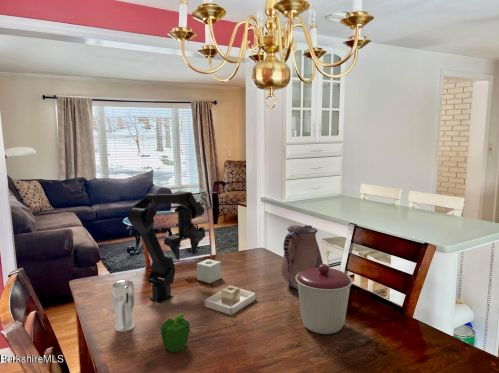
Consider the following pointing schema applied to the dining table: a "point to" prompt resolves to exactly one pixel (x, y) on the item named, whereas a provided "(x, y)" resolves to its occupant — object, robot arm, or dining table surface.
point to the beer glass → (123, 304)
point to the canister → (323, 298)
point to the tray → (217, 304)
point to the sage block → (208, 270)
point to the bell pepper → (175, 333)
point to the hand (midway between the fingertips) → (186, 257)
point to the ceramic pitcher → (299, 252)
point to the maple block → (230, 295)
